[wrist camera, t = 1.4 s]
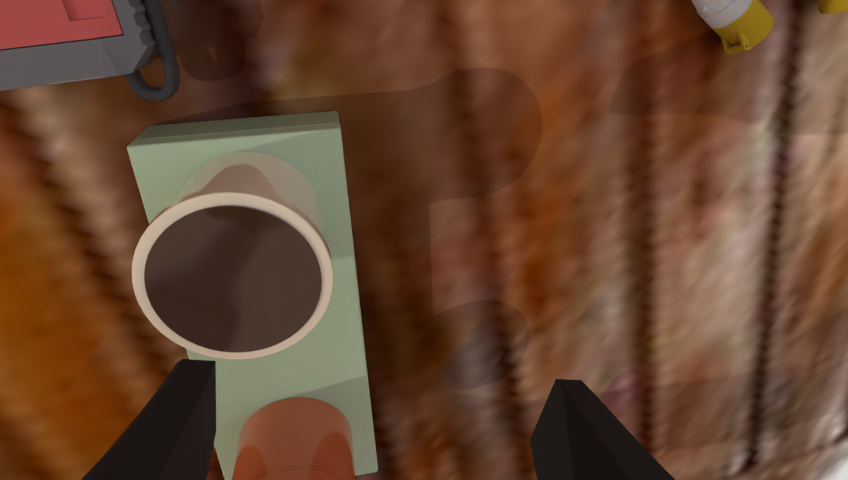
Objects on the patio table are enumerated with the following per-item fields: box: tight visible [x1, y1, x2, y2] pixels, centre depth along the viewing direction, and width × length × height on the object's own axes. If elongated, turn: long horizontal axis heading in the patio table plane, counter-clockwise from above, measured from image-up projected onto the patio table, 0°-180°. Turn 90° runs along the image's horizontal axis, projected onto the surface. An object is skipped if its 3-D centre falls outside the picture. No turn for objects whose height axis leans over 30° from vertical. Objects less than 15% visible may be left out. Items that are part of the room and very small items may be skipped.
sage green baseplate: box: [127, 111, 378, 480], centre depth 23 cm, size 7×17×3 cm, turn 2°
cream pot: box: [131, 152, 334, 360], centre depth 17 cm, size 6×6×5 cm
